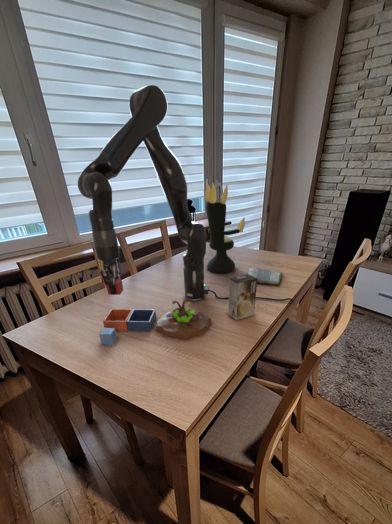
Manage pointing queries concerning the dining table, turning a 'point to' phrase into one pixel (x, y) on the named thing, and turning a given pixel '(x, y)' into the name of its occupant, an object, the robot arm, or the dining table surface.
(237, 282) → the coffee box
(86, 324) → the dining table surface
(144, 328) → the slate bin
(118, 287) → the brick block
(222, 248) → the candelabra
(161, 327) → the plant
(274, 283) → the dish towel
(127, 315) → the terracotta bin
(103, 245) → the robot arm
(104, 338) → the blue block
